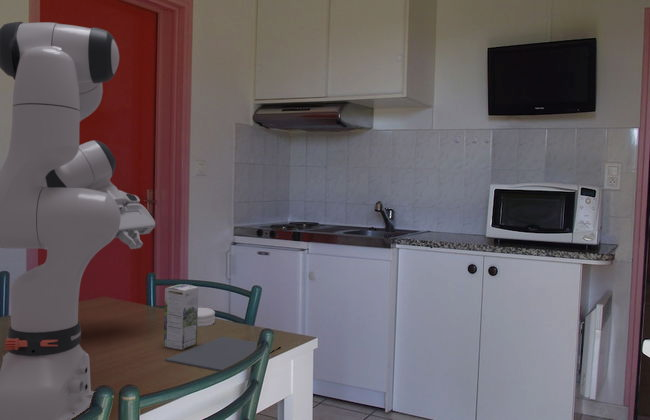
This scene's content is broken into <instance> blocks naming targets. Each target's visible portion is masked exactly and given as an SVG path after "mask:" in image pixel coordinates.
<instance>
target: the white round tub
mask: <svg viewBox="0 0 650 420" xmlns="http://www.w3.org/2000/svg"><path fill="white" fill-rule="evenodd" d="M215 314H216V312H215V310H213V309H212V308H209V307H198V320H197V328H202V327H204V328H205V327H209V326H212V325H214V324H215V322H216V317H215ZM213 323H214V324H213Z"/></svg>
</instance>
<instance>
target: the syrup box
mask: <svg viewBox="0 0 650 420" xmlns="http://www.w3.org/2000/svg"><path fill="white" fill-rule="evenodd" d="M198 308H199V287H198V286H195V285H192V284H184V283H183V284H176V285H173V286H168V287H165V289H164V309H163V310H164V314H163V315H164V319H163V324H164V325H163V347H164V348H170V349H175V350H181V351H183V350H186V349H188V348H190V347H191V348H192V347H193V346H196V345H197V343H198V327H197V320H198Z"/></svg>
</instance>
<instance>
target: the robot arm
mask: <svg viewBox="0 0 650 420" xmlns="http://www.w3.org/2000/svg"><path fill="white" fill-rule="evenodd" d="M119 52H120V51H119V47H118V45H117V42H116V40H115V37H114V36H113V35H112V34H111V33H110V32H109V31H108V30H106V29H102V28H99V27H94V26H93V27H90V28H89V27H85V26H81V25H80V26H78V25H73V24H65V23H64V24H63V23H58V22H50V21H49V22H47V21H46V22H23V21H14V22H8V23H5V24H3V25H2V26H1V27H0V70H2V71H3V72H4V73H5V74H6V75H7V76H9V77H11V78H13V80H14V85H13V95H12V115H11V116H12V118H11V120H12V121H11V131H10V132H11V134H10V141H9V149H8V153H7V156H6V157H5V161H4V163H3V164H2V166H1V168H0V249H4V250H5V249H10V250H11V249H13V250H14V249H19V250H21V249H35V250H36V249H37V250H38V249H43V250H46V260H45V262H43V264H39V265H38V266H35V267H34V268H32V269H29V270H28V271H25V272H24V273H21V275H20V276H18V277H17V278H16V279H15V280H14V282H13V284H12V285H11V288H10V326H9V328H8V333H7V336H6V339H5V342H4V346H5V347H4V349H5V351H7V352H6V353H5V354H4V355H3V356H2V363H1V366H0V420H71V419H72V418H74V417H76V416H77V415H79V414H80V413H82V412H83V411H85V410H86V409H87V408H89V406H90V403H91V399H92V396H93V393H94V392H95V391H93V390H92V389H91V388H92V387H91V368H90V367H91V366H90V355H89V354H88V353H87V352H86V351H85V350H84V349H83V348H82V347H81V344H80V343H81V342H82V341H81V340H82V337H81V335H82V329H81V323H80V321H79V297H80V288H81V287H80V286H81V282H82V278H83V274H84V272H85V271H86V268H87V266H88V265H89V263H90V261H91V260H92V259H93V258H94V257H95V255H96V254H97V253H98V252H100V250H102V249H103V248H104V247H106V246H107V245H109V244H111V242H112V241H113V240H114V239H117V238H118V239H119V241H121V242H122V243H123V244H125V245H127V246H128V247H129V249H130V250H136V249H141V248H142V247H143V245H144V243H143V241H142V240H141V237H140V235H148V234H150V233H151V232H152V231H153V230H154V229H155V227H156V221H155V219H154V218H153V216H152V215H151V213H150V212H149V211H148V210H147V208H146V207H145V206H144V205H142V204H141V203H140V202H141V199H140V198H139V196H137V195H136V194H131V193H127V192H125V191H123V190H120V189H118V188H117V186H116V185H115V184H114V183H112V181H111V178H113V175H114V173H115V170H116V166H117V159H116V158H115V156H114V154H113V152H112V151H111V149H110V148H109V147H108V145H107V144H105V143H103V142H102V141H99V140H95V139H93V140H90V141H87V142H84V143H82V144H80V123H81V122H82V121H83V120H84V119H86V118H87V117H90V115H92V114H93V113H94V112H95V111H96V110H97V109H98V107H99V106H100V104H101V102H102V99H103V98H102V97H103V93H104V88H103V83H106V82H107V83H108V82H109V81H110V80H112V79H113V78H115V75H116V72H117V69H118V67H119V63H120V53H119Z"/></svg>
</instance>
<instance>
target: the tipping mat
mask: <svg viewBox="0 0 650 420" xmlns="http://www.w3.org/2000/svg"><path fill="white" fill-rule="evenodd" d="M257 342H258V341H253V340H245V339H239V338H233V337H228V336H221V337H218V338H215V339H213V340H209V341H207V342H205V343H203V344H200V345H197V346H195V347H191V348H190V349H188V350H185V351H182V352H180V353H176V354H175V355H173V356H169V357H167V358H165V360H164V361H165V362H169V363H175V364H181V365H185V366H189V367H190V366H192V367H195V368H201V369H205V370H212V371H216V372H221V371H220V370H222V369H224V368H226V367H228V366H231V365H233V364H234V363H236V362H238V361H240V360H242V359H243V358H245V357H247V356H248V355H250V354H251V353H253V352H254V350H255V349H256V347H257Z"/></svg>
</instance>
